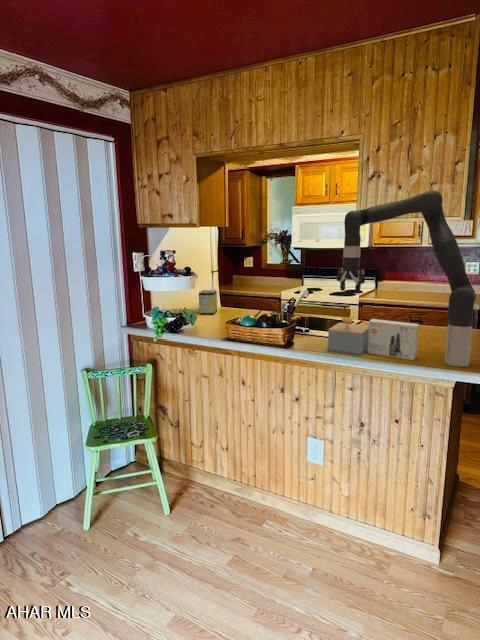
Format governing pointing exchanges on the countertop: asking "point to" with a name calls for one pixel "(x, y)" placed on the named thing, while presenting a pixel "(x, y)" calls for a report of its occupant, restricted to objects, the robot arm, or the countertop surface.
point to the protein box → (207, 302)
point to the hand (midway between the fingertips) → (349, 291)
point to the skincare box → (393, 338)
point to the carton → (348, 342)
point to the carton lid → (349, 327)
